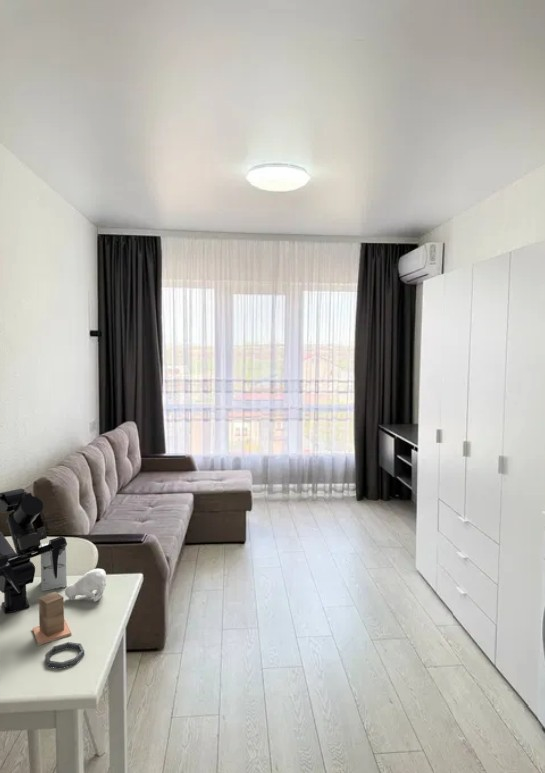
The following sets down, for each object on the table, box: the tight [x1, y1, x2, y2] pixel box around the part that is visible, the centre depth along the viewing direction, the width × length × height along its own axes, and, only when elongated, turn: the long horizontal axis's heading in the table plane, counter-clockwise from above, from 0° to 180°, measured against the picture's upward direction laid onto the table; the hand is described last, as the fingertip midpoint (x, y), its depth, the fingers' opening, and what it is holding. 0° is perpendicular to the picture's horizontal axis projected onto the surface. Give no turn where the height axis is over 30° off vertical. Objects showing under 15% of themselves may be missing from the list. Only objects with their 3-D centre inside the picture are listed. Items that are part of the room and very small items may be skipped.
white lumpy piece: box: [64, 568, 107, 602], centre depth 149 cm, size 6×8×12 cm
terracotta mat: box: [32, 618, 72, 646], centre depth 131 cm, size 8×8×1 cm
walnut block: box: [38, 591, 65, 637], centre depth 131 cm, size 4×4×9 cm
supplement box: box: [40, 542, 68, 592], centre depth 157 cm, size 7×7×13 cm
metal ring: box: [44, 641, 85, 669], centre depth 121 cm, size 8×8×1 cm
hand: (38, 585), depth 133 cm, fingers open, 9 cm apart
